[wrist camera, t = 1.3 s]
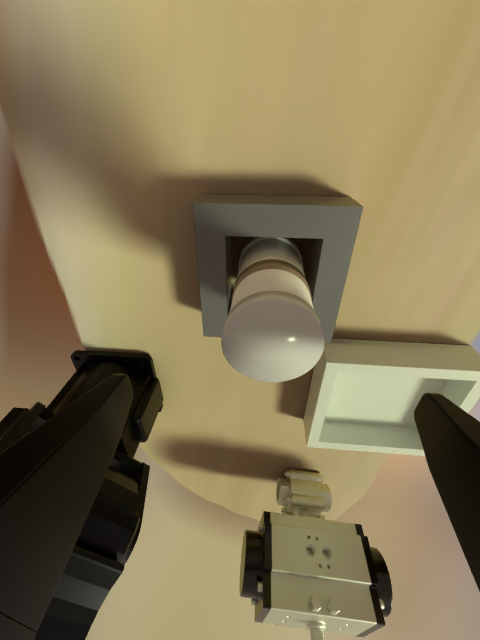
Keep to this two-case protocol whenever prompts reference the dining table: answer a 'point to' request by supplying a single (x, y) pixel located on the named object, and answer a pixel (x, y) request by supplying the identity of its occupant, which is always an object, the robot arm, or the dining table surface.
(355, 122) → the dining table surface
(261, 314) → the white light bulb
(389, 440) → the parts tray
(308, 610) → the pneumatic valve
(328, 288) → the grey square frame
